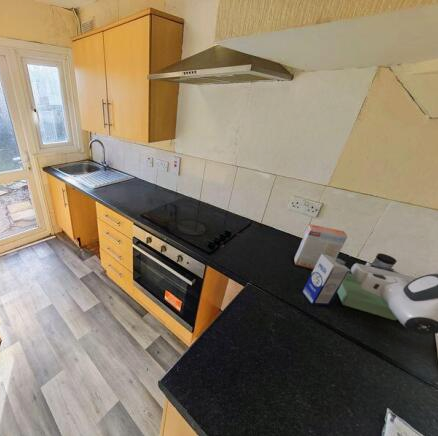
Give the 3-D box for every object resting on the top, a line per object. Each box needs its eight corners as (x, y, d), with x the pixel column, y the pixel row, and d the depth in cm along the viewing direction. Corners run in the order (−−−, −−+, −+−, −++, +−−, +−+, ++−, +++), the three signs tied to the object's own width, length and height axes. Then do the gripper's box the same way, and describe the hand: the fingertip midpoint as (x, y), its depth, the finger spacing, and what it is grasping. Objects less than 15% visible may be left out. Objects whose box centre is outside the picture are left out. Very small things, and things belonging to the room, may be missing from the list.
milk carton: (301, 291, 96) (321, 253, 87) (317, 292, 96) (338, 254, 87) (312, 304, 90) (334, 265, 80) (329, 305, 90) (353, 266, 80)
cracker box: (325, 267, 112) (344, 230, 102) (328, 274, 107) (348, 237, 97) (293, 258, 117) (308, 223, 107) (294, 265, 112) (311, 228, 102)
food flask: (375, 279, 92) (392, 255, 87) (381, 288, 88) (399, 263, 82) (359, 275, 94) (374, 251, 88) (364, 283, 89) (381, 259, 84)
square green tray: (375, 289, 99) (381, 282, 97) (395, 320, 85) (402, 312, 83) (331, 277, 105) (335, 270, 103) (342, 304, 90) (347, 296, 88)
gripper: (443, 293, 72) (418, 268, 83) (364, 273, 79) (351, 252, 90) (431, 307, 75) (408, 281, 86) (355, 287, 82) (344, 265, 93)
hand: (378, 266), depth 88 cm, fingers closed on food flask, 5 cm apart
